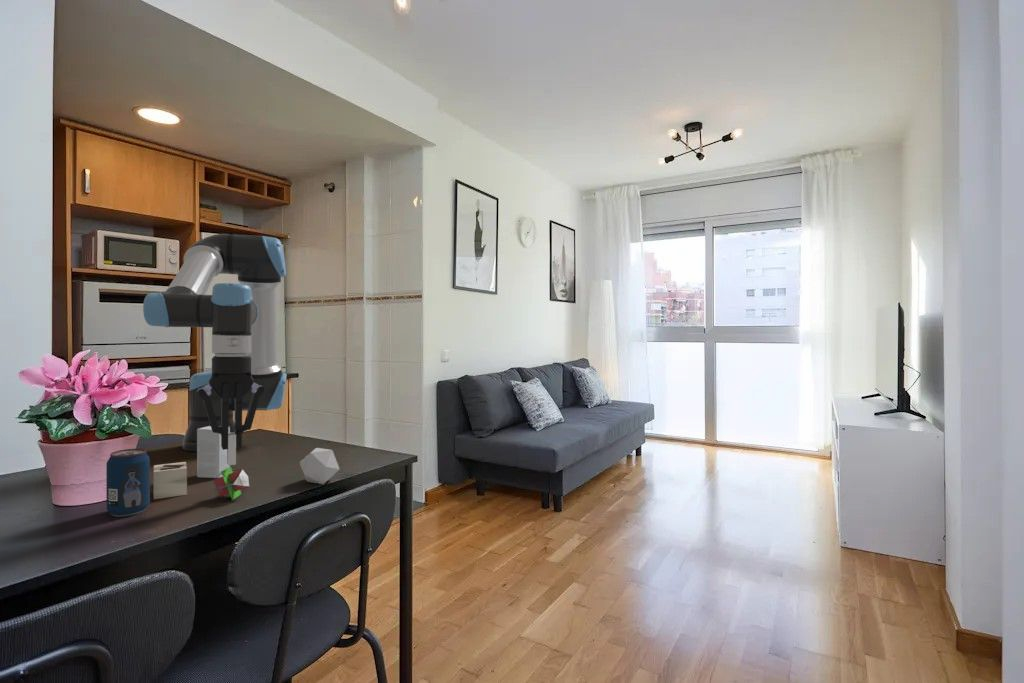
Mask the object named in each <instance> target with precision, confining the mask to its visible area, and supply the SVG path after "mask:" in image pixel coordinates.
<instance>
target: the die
mask: <svg viewBox="0 0 1024 683" xmlns="http://www.w3.org/2000/svg"><path fill="white" fill-rule="evenodd" d="M298 463H299V466H300V467H301V470H302V472H303V474H304V478H305V481H306V482H308V483H313V484H317V483H318V484H317V485H325V484H326V483H327V481H329V480H330V479H331V478H332V477H333V476H334V475H335V474H336V473H338V471H339V470H340V469H341V468H340V466H339V463H338V461H337V459H336V456H335V453H334V450H332V449H327V448H321V447H316V448H314V449H313V450H311V452H309V453H308V454H307V455H306V456H305V457H303V459H301V460H300V461H299V462H298Z"/></svg>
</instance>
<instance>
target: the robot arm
mask: <svg viewBox="0 0 1024 683" xmlns="http://www.w3.org/2000/svg"><path fill="white" fill-rule="evenodd" d="M282 244H283V243H282V242H281V240H280V239H278V238H277V237H272V236H265V235H251V234H250V235H248V234H247V235H246V234H233V233H232V234H231V233H217V234H211V235H209V236H207V237H204V238H201V239H200V240H197V241H196V242H194V243H192V245H190V246H189V247H188V248H187V249H186V252H185V253H184V254H183V255H184V256H183V264H182V265H181V267H180V268H179V270H178V271H177V273H176V275H175V277H173V280H171V283H170V284H169V285H168V287H167V289H166V290H165V292H159V291H158V292H150V293H147V294H146V296H145V297H144V300H143V308H142V313H143V318H144V320H145V322H146V324H148V326H152V327H163V328H212V329H211V330H212V332H211V353H212V354H213V355H214V356H212V358H211V370H209V371H203V372H198V373H194V374H193V375H191V377H190V378H189V389H188V391H189V423H188V426H187V428H186V431H185V435H183V440H182V450H184V451H187V452H197V429H199V428H203V427H207V426H211V429H212V431H213V432H214V433H219V434H221V447H222V449H223V450H225V449H227V464H228V465H230V466H235V465H237V449H241V447H242V446H243V445H242V444H243V440H242V438H243V433H244V432H246V431H250V430H251V429H252V425H253V423H254V419H255V415H256V411H271V410H272V411H273V410H278V409H280V408H282V406H283V402H284V397H285V392H286V384H287V373H286V372H283V370H282V366H281V365H280V364H279V363H278V362H277V314H276V312H277V307H276V306H277V304H276V297H277V296H276V288H277V287H278V286H279V284H281V283H282V280H281V279H282V278H284V277H286V276H287V270H286V266H287V265H286V260H285V253H284V252H285V251H284V248H283V245H282ZM219 274H220V275H222V274H225V275H226V274H227V275H237V282H238V283H234V282H233V283H230V282H228V283H227V282H223V283H215V284H214V285H213V286H212V292H211V293H212V294H207V292H208V290H209V287H210V285H211V284H212V281H213V280H214V278H215V277H217V276H219ZM246 411H247V412H246ZM243 412H246V417H245V419H244V423H243ZM229 427H230V433H228V432H229Z"/></svg>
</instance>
